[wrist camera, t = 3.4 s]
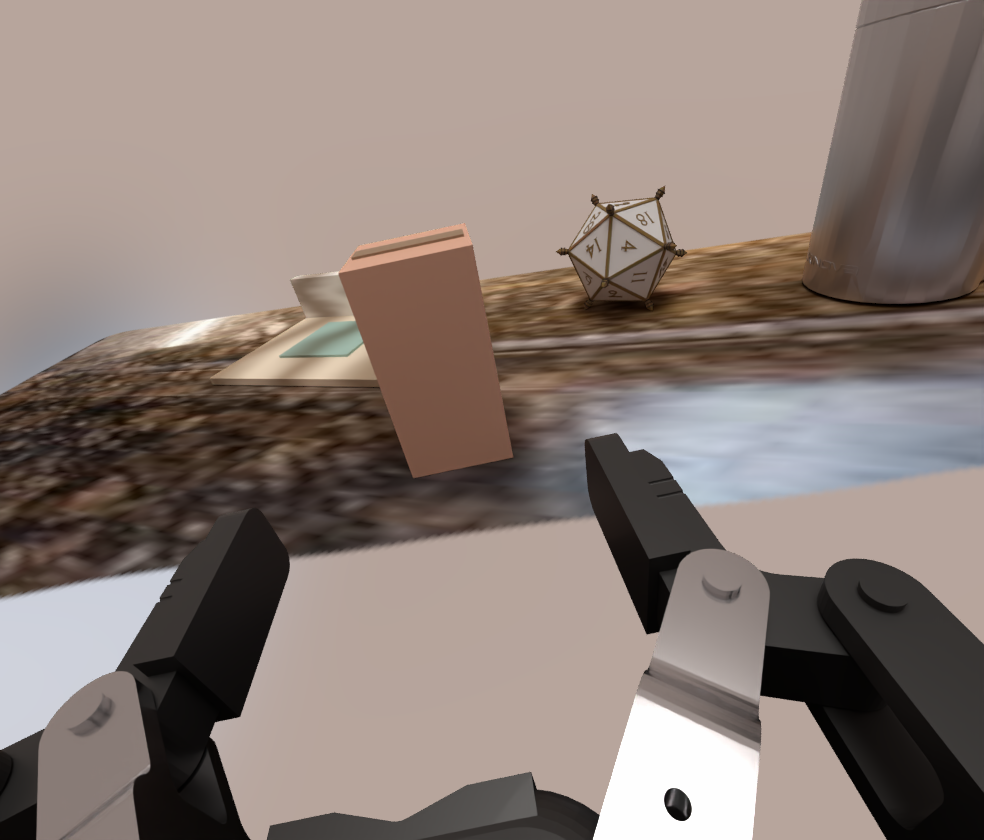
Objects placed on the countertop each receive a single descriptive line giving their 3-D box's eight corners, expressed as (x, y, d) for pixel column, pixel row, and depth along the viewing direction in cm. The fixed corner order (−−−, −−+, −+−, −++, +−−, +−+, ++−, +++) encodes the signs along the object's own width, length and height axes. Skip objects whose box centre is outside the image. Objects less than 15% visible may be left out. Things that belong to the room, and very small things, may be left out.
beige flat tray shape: (467, 310, 40) (456, 259, 38) (395, 387, 30) (373, 324, 27) (315, 318, 46) (297, 275, 44) (213, 384, 36) (181, 333, 34)
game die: (627, 355, 35) (600, 284, 27) (561, 301, 40) (521, 225, 31) (713, 277, 34) (714, 177, 26) (636, 229, 39) (616, 131, 30)
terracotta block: (500, 405, 25) (464, 220, 20) (513, 457, 21) (471, 241, 16) (416, 423, 26) (357, 243, 20) (413, 478, 21) (337, 270, 16)
